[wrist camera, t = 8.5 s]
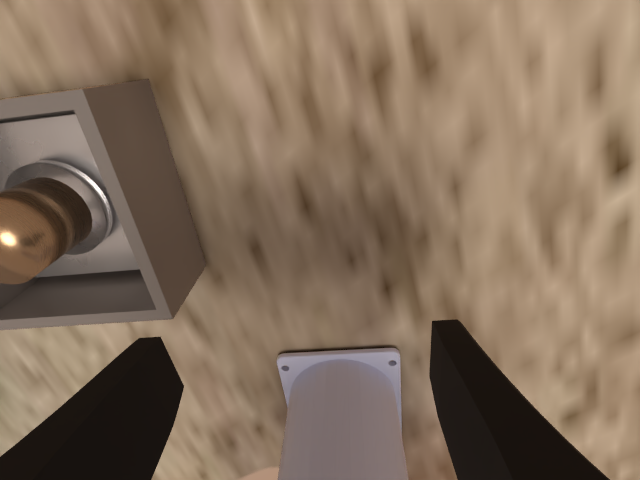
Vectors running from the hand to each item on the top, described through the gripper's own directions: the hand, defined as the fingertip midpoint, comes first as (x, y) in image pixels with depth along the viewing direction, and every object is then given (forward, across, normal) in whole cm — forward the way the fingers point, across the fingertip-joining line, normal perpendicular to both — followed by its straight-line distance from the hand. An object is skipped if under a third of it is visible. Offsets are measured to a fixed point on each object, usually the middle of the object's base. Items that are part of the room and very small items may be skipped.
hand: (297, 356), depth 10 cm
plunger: (+9, +12, -2) cm, 15 cm away
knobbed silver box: (+11, +12, -2) cm, 16 cm away
